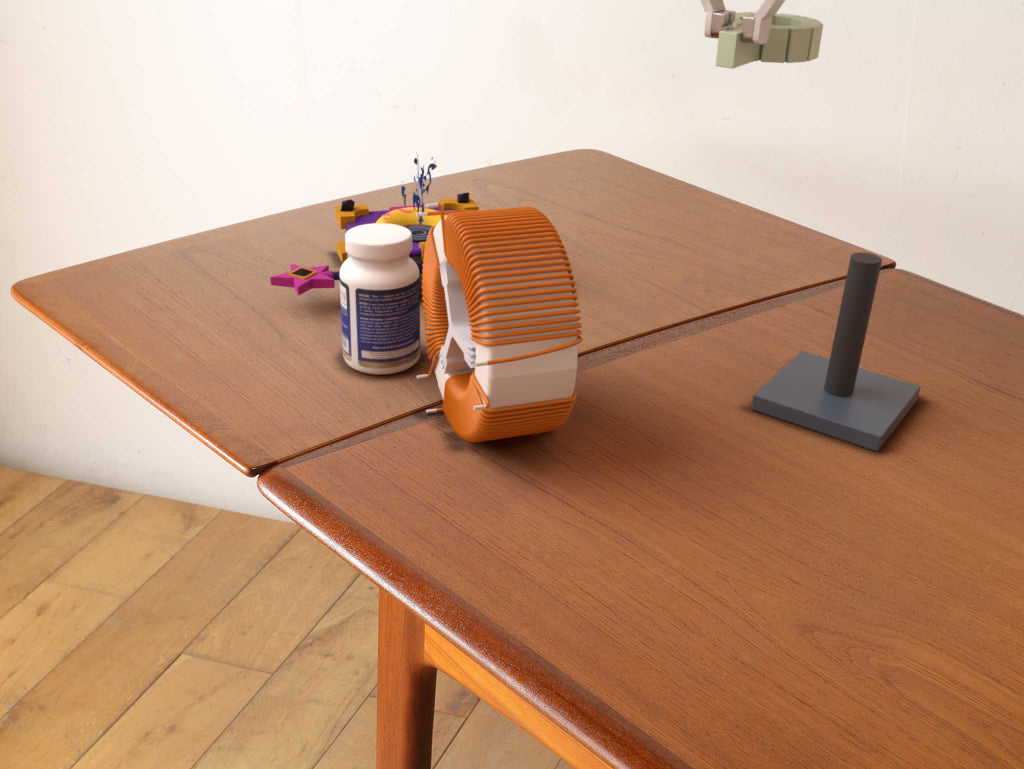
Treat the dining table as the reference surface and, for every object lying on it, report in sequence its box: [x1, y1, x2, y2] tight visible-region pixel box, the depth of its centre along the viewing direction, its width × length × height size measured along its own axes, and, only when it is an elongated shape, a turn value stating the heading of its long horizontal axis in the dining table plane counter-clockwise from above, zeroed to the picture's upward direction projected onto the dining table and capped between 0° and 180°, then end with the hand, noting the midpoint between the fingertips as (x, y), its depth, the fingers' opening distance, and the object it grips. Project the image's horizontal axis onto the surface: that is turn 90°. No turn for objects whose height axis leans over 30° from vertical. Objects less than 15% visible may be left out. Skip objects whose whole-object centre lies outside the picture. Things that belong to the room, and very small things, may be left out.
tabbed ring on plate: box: [715, 11, 824, 70], centre depth 78 cm, size 7×11×2 cm
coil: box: [416, 202, 584, 444], centre depth 67 cm, size 7×15×15 cm, turn 19°
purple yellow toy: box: [269, 151, 480, 298], centre depth 90 cm, size 14×25×12 cm, turn 108°
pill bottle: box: [339, 223, 421, 375], centre depth 76 cm, size 6×6×10 cm
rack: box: [751, 251, 922, 452], centre depth 72 cm, size 9×9×11 cm
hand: (735, 40), depth 75 cm, fingers closed on tabbed ring on plate, 1 cm apart
